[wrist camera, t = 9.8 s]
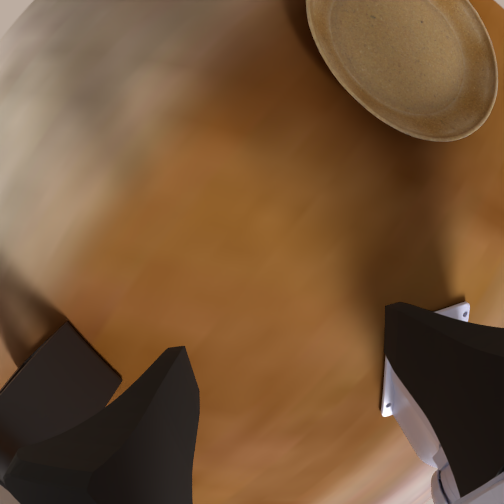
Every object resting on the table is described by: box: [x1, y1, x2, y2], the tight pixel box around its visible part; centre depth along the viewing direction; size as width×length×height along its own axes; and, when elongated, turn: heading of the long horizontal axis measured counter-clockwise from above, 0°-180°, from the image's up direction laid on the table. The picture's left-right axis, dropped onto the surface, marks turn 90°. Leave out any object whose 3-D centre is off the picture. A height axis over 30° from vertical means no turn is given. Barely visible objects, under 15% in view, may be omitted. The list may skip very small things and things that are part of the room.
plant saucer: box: [306, 0, 498, 142], centre depth 15 cm, size 15×15×3 cm
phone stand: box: [0, 322, 122, 491], centre depth 15 cm, size 9×6×12 cm, turn 126°
